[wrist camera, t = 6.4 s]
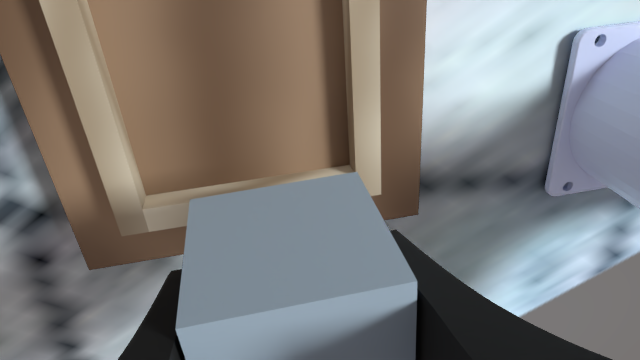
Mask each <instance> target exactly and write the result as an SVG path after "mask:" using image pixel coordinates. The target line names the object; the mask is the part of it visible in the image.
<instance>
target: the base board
mask: <svg viewBox="0 0 640 360" xmlns="http://www.w3.org/2000/svg"><path fill="white" fill-rule="evenodd" d="M426 6H427V0H0V54H1V57H2V59H3V62H4V64H5V67H6V69H7V72H8V74H9V76H10V79H11V81H12V84H13V86H14V89H15V91H16V93H17V96H18V98H19V101H20V103H21V106H22V108H23V110H24V113H25V115H26V118H27V120H28V123H29V125H30V127H31V130H32V132H33V135H34V137H35V140H36V142H37V144H38V147H39V149H40V152H41V154H42V157H43V159H44V161H45V164H46V166H47V169H48V171H49V174H50V176H51V178H52V181H53V183H54V186H55V188H56V191H57V193H58V196H59V198H60V200H61V203H62V205H63V208H64V210H65V213H66V215H67V217H68V220H69V222H70V225H71V227H72V230H73V232H74V234H75V237H76V239H77V242H78V244H79V247H80V249H81V251H82V254H83V256H84V259H85V261H86V264H87V266H88V268H89V270H93V269H99V268H105V267H111V266H117V265H122V264H128V263H134V262H140V261H146V260H152V259H158V258H164V257H170V256H176V255H182V254H184V248H185V239H186V230H187V221H188V212H189V203H190V199H196V198H202V197H208V196H214V195H220V194H226V193H232V192H238V191H244V190H250V189H256V188H262V187H268V186H274V185H280V184H286V183H292V182H298V181H304V180H310V179H316V178H322V177H328V176H334V175H340V174H346V173H352V172H358V174H359V176H360V178H361V179H362V181H363V183H364V185H365V187H366V189H367V190H368V192H369V194H370V196H371V198H372V199H373V201H374V203H375V205H376V207H377V209H378V210H379V212H380V214H381V216H382V218H383V219H384V220H389V219H395V218H401V217H406V216H412V215H418V209H419V184H420V159H421V133H422V108H423V82H424V57H425V31H426Z"/></svg>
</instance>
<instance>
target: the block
mask: <svg viewBox="0 0 640 360" xmlns="http://www.w3.org/2000/svg"><path fill="white" fill-rule="evenodd" d="M416 318H417V279H416V278H415V276H414V274H413V272H412V270H411V269H410V267H409V265H408V263H407V261H406V259H405V258H404V256H403V254H402V252H401V250H400V249H399V247H398V245H397V243H396V241H395V239H394V238H393V236H392V234H391V232H390V230H389V229H388V227H387V225H386V223H385V221H384V219H383V218H382V216H381V214H380V212H379V210H378V209H377V207H376V205H375V203H374V201H373V199H372V198H371V196H370V194H369V192H368V190H367V189H366V187H365V185H364V183H363V181H362V179H361V178H360V176H359V174H358V172H352V173H346V174H340V175H334V176H328V177H322V178H316V179H310V180H304V181H298V182H292V183H286V184H280V185H274V186H268V187H262V188H256V189H250V190H244V191H238V192H232V193H226V194H220V195H214V196H208V197H202V198H196V199H190V203H189V212H188V221H187V230H186V239H185V248H184V256H183V265H182V274H181V283H180V292H179V301H178V310H177V319H176V328H175V330H176V333H177V336H178V339H179V341H180V344H181V347H182V350H183V353H184V356H185V359H186V360H415V357H416Z"/></svg>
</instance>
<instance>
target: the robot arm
mask: <svg viewBox="0 0 640 360" xmlns="http://www.w3.org/2000/svg"><path fill="white" fill-rule="evenodd" d="M599 35H600V38H599V41H598V42H597V43H596V44H595V39H596V38H597V37H598V36H599ZM566 183H567V184H566ZM565 184H566V185H565ZM564 185H565V186H564ZM563 186H564V187H563ZM602 188H610V189H611V190H612V191H614V192H615V193H617V194H618V195H620V196H621V197H623V198H624V199H626V200H627V201H629V202H630V203H631V204H633V205H634V206H636V207H637V208H639V209H640V21H638V22H630V23H622V24H614V25H606V26H598V27H589V28H584V29H582V30H580V31H579V32H578V33H577V34H576V36H575V37H574V40H573V44H572V49H571V54H570V59H569V64H568V70H567V75H566V80H565V85H564V90H563V95H562V100H561V106H560V111H559V116H558V121H557V126H556V131H555V136H554V142H553V147H552V152H551V157H550V162H549V167H548V172H547V178H546V183H545V190H546V192H547V193H548V194H549V195H551V196H561V195H567V194H573V193H579V192H585V191H591V190H596V189H602ZM390 232H391V234H392V236H393V238H394V239H395V241H396V243H397V245H398V247H399V249H400V250H401V252H402V254H403V256H404V258H405V259H406V261H407V263H408V265H409V267H410V269H411V270H412V272H413V274H414V276H415V278H416V279H417V318H416V357H415V360H612V359H610V358H607V357H604V356H602V355H600V354H597V353H594V352H592V351H589V350H587V349H584V348H582V347H580V346H577V345H575V344H573V343H570V342H568V341H566V340H564V339H562V338H559V337H557V336H555V335H553V334H551V333H549V332H547V331H545V330H543V329H541V328H538V327H536V326H534V325H533V324H531V323H529V322H526V321H525V320H523V319H521V318H519V317H517V316H516V315H514V314H512V313H510V312H509V311H507V310H505V309H503V308H502V307H500V306H498V305H496V304H495V303H493V302H491V301H490V300H488V299H487V298H485V297H483V296H482V295H480V294H479V293H477V292H476V291H474V290H473V289H471V288H470V287H468V286H467V285H465V284H464V283H463V282H461V281H460V280H458V279H457V278H456V277H454V276H453V275H452V274H450V273H449V272H448V271H446V270H445V269H444V268H442V267H441V266H440V265H438V264H437V263H436V262H435V261H433V260H432V259H431V258H430V257H428V256H427V255H426V254H425V253H423V252H422V251H421V250H420V249H419V248H417V247H416V246H415V245H414V244H413V243H411V242H410V241H409V240H408V239H407V238H405V237H404V236H403V235H402V234H401V233H399V232H398V231H397V230H393V231H390ZM181 274H182V269H180V270H174V271H171V272H170V274H169V275H168V277H167V278H166V280H165V282H164V284H163V286H162V288H161V290H160V292H159V294H158V295H157V297H156V299H155V301H154V303H153V304H152V306H151V308H150V310H149V311H148V313H147V315H146V316H145V318H144V320H143V321H142V323H141V325H140V326H139V328H138V330H137V331H136V333H135V335H134V336H133V338H132V339H131V341H130V343H129V344H128V346H127V347H126V348H125V350H124V351H123V353H122V354H121V356H120V357H119V359H118V360H186V359H185V356H184V353H183V350H182V347H181V344H180V341H179V339H178V336H177V333H176V330H175V328H176V319H177V310H178V301H179V292H180V283H181Z"/></svg>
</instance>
